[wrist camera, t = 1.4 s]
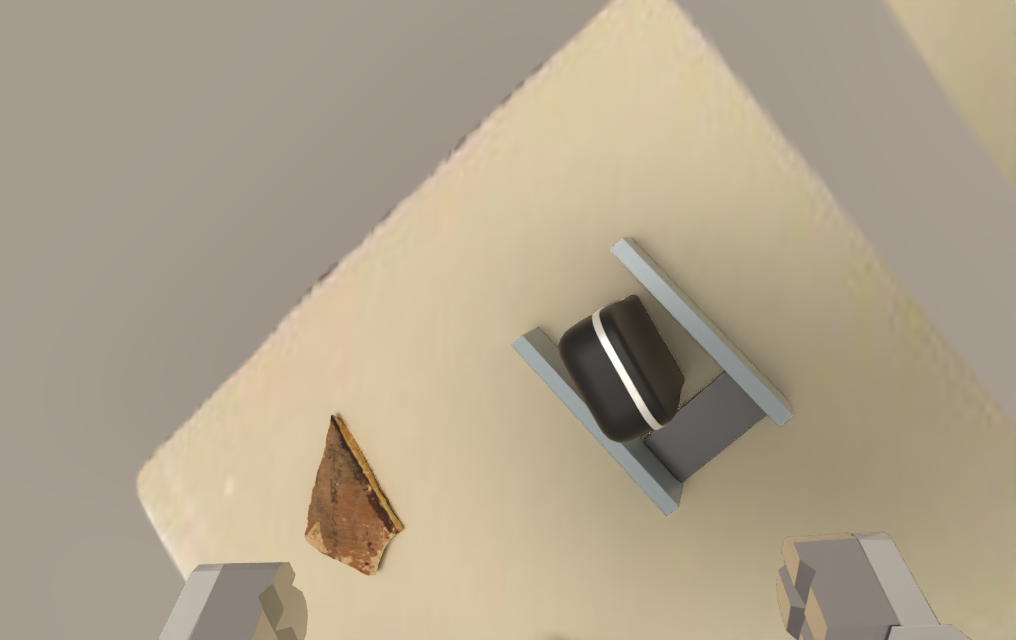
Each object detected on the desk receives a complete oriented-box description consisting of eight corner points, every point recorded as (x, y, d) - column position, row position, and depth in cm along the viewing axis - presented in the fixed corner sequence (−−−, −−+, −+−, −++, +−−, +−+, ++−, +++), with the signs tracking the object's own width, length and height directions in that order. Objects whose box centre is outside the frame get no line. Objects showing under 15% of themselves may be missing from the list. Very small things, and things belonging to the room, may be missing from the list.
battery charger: (584, 317, 46) (540, 341, 35) (634, 289, 45) (604, 305, 34) (636, 409, 46) (607, 462, 35) (688, 383, 45) (675, 430, 34)
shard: (341, 409, 53) (328, 415, 52) (429, 446, 51) (419, 453, 50) (310, 534, 55) (297, 543, 54) (394, 573, 54) (383, 584, 52)
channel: (631, 237, 45) (622, 238, 41) (787, 400, 43) (793, 416, 39) (528, 337, 48) (511, 345, 44) (671, 493, 46) (666, 516, 42)
